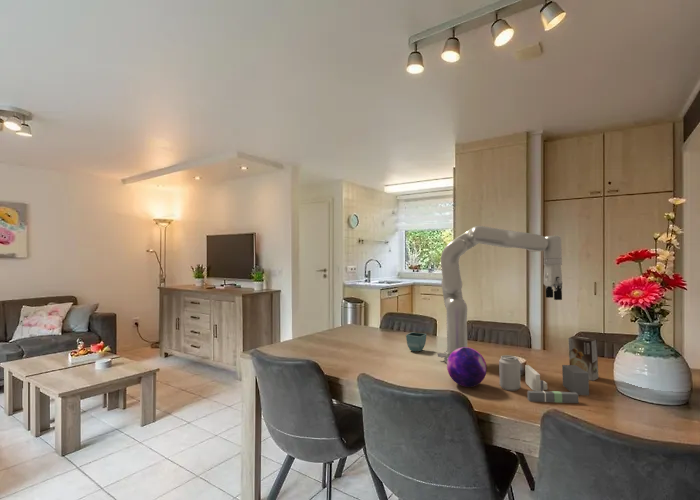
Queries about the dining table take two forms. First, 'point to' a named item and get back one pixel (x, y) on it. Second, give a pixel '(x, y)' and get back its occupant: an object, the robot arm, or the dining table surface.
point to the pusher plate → (534, 379)
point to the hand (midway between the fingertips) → (553, 298)
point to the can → (509, 373)
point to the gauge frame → (572, 380)
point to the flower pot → (416, 341)
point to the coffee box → (584, 355)
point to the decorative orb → (466, 367)
